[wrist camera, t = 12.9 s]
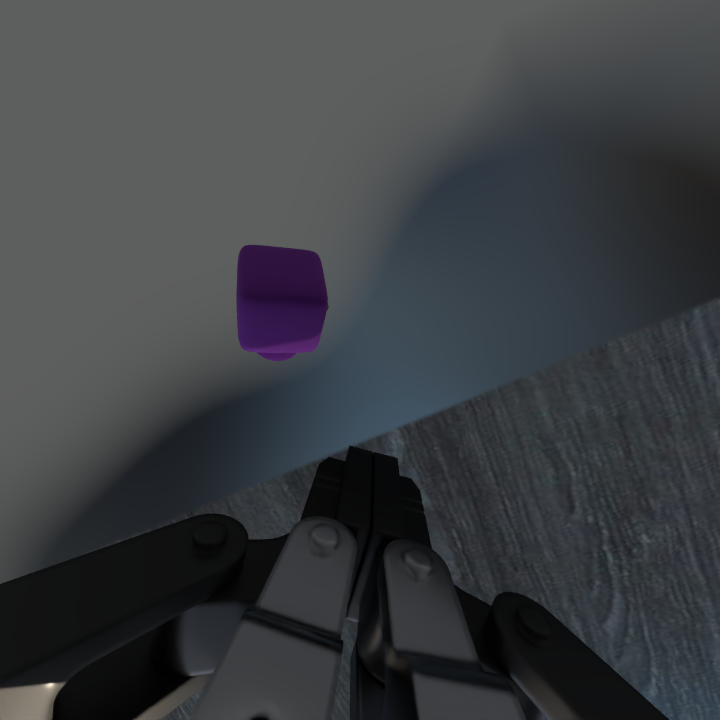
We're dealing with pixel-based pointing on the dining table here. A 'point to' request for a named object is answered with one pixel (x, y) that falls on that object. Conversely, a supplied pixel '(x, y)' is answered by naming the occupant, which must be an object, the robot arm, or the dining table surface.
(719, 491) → the dining table surface
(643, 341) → the dining table surface
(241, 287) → the toy camera
